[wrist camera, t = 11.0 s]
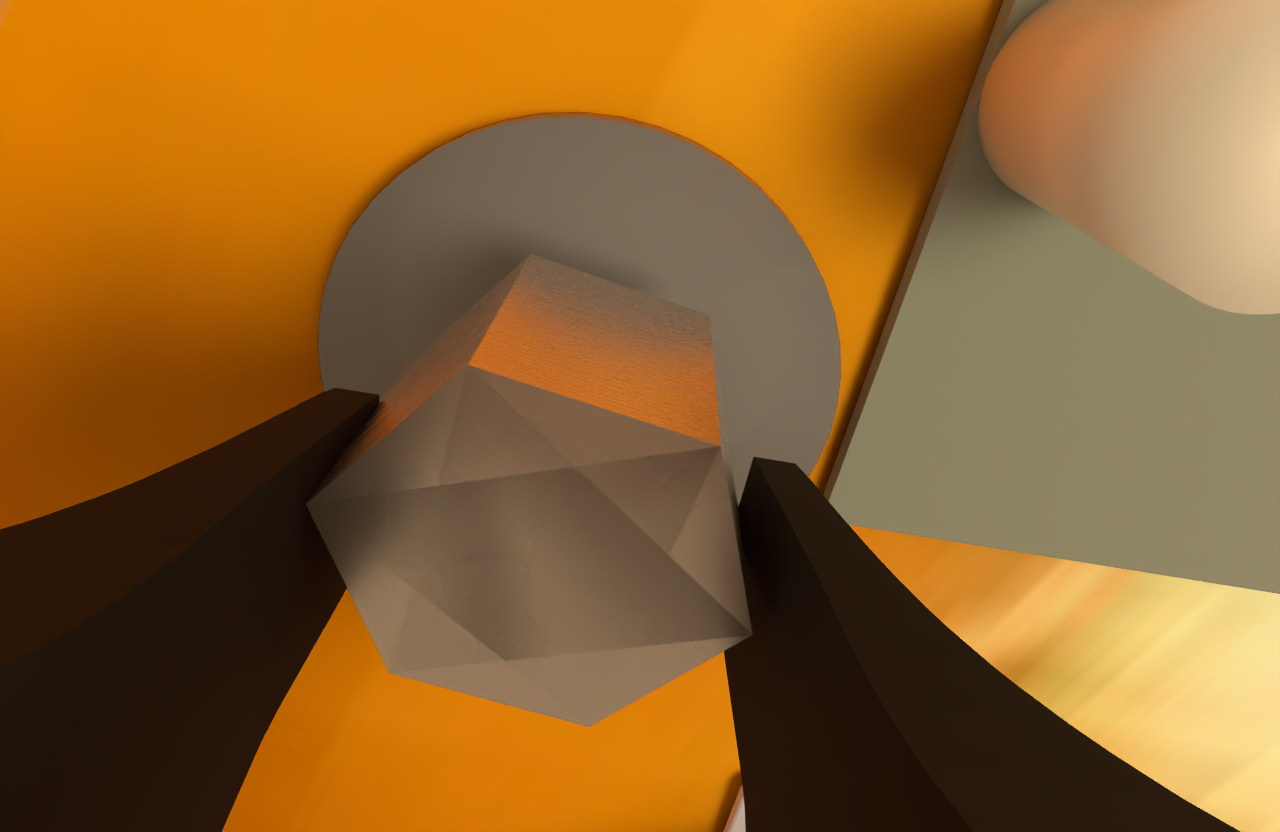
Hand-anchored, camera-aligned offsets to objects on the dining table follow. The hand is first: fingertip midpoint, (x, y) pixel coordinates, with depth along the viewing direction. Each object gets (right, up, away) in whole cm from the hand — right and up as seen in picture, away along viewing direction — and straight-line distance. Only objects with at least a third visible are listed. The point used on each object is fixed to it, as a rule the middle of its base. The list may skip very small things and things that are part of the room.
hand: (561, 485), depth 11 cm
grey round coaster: (0, +2, +3) cm, 3 cm away
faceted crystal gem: (0, +1, +1) cm, 1 cm away
